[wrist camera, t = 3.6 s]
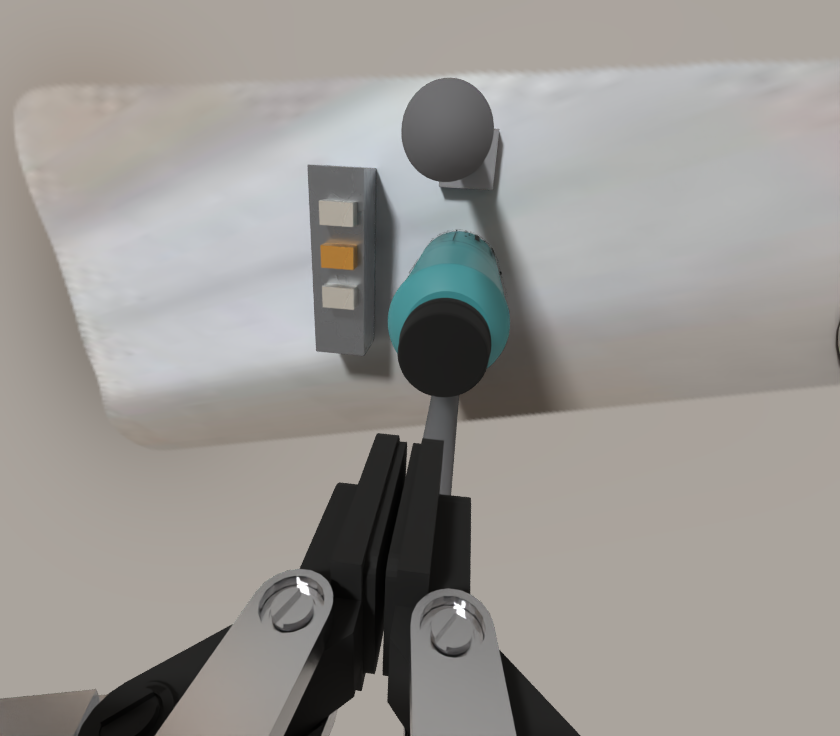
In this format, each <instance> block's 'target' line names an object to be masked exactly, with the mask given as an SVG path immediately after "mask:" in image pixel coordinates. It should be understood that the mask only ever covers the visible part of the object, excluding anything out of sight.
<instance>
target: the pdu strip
mask: <svg viewBox="0 0 840 736" xmlns="http://www.w3.org/2000/svg"><path fill="white" fill-rule="evenodd" d="M308 184H309V206H310V228H311V249H312V271H313V293H314V314H315V336H316V351H319V352H329V353H340V354H350V355H361V356H364V355H365V353H366V351H367V350H368V348H369V347H370V345H371V343H372V342H373V340H374V306H375V219H376V168H362V167H345V166H328V165H308Z"/></svg>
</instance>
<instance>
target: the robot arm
mask: <svg viewBox="0 0 840 736" xmlns="http://www.w3.org/2000/svg"><path fill="white" fill-rule="evenodd" d="M838 347H839V352H840V327H839V333H838ZM443 449H444V440H436V439H427V438H423V439H422V443H421V444H419V443H413V447H412V451H411V457H410V460H409V465H408V469H407V474H406V457H407V442H400V438H399V435H389V434H380V433H378V434H377V435H376V437H375V440H374V443H373V445H372V448H371V451H370V453H369V456H368V459H367V462H366V464H365V467H364V470H363V473H362V475H361V478H360V481H359V483H358V485H355V484H348V483H338V484H337V485H336V487H335V489H334V491H333V494H332V496H331V498H330V500H329V503H328V505H327V507H326V510H325V512H324V514H323V516H322V519H321V521H320V523H319V526H318V528H317V530H316V533H315V535H314V537H313V539H312V542H311V544H310V546H309V549H308V551H307V553H306V556H305V558H304V560H303V563H302V565H301V567H300V569H295V570H287V571H285V572H282V573H279V574H277V575H275V576H273V577H272V578H270V579H269V580H267V581H266V582H264V583H263V584H262V586H261V587H260V588H259V589H258V590H257V591H256V592H255V594H254V595H253V597H252V598H251V599H250V601H249V602H248V604H247V605H246V607H245V608H244V609H243V611H242V612H241V614H240V615H239V617H238V618H237V619H236V621H235V622H234V624H232V625H230V626H229V627H227V628H225V629H223V630H221V631H219V632H217V633H216V634H214V635H212V636H210V637H208V638H206V639H205V640H203V641H201V642H199V643H197V644H195V645H194V646H192V647H190V648H188V649H186V650H185V651H182V652H181V653H179V654H177V655H175V656H173V657H171V658H170V659H168V660H166V661H164V662H162V663H160V664H159V665H157V666H155V667H153V668H151V669H149V670H147V671H146V672H144V673H142V674H140V675H138V676H136V677H135V678H133V679H131V680H129V681H127V682H125V683H124V684H123V685H121V686H119V687H118V688H116V689H115V690H113V691H112V692H110V693H109V694H107V695H98V693H97V690H96V689H92V690H83V691H72V692H64V693H54V694H43V695H33V696H23V697H13V698H3V699H0V736H329V735H330V733H331V730H332V727H333V725H334V722H335V718H336V714H337V709H338V708H340V707H341V706H342V705H344V704H345V703H346V702H348V701H349V700H350V699H351V698H353V697H354V694H355V690H358V691H362V687H363V682H364V677H365V673H371V674H375V671H376V667H377V662H378V657H379V652H380V646H381V641H382V636H383V631H384V644H383V675H385V676H388V703H389V705H390V706H391V708H392V710H393V711H394V712H395V714H396V716H397V717H398V719H399V720H400V722H401V723H402V724H403V726H404V733H403V736H580V735H579V734H578V733H577V731H575V729H574V728H573V727H572V726H571V725H570V724H569V723H568V722H567V721H566V720H565V719H564V718H563V717H562V716H561V715H560V713H559V712H557V711H556V709H555V708H554V707H553V706H552V705H551V704H550V703H549V702H548V701H547V700H546V699H545V698H544V697H543V695H542V694H541V693H540V692H539V691H538V690H537V689H536V688H535V687H534V686H533V685H532V684H531V683H530V682H529V681H528V680H527V679H526V678H525V676H524V675H523V674H522V673H521V672H520V671H519V670H518V669H517V668H516V667H515V666H514V665H513V664H512V663H511V662H510V661H509V659H508V658H507V657H506V656H505V655H504V654H503V653H502V652H501V651H500V650H499V647H498V642H497V638H496V632H495V627H494V624H493V621H492V618H491V615H490V613H489V611H488V610H487V609H486V607H485V606H484V605H483V604H482V602H480V601H479V600H478V599H476V598H475V597H474V596H472V595H471V594H470V553H471V551H470V550H471V498H469V497H460V496H451V495H443V494H440V483H441V471H442V460H443Z"/></svg>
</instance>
